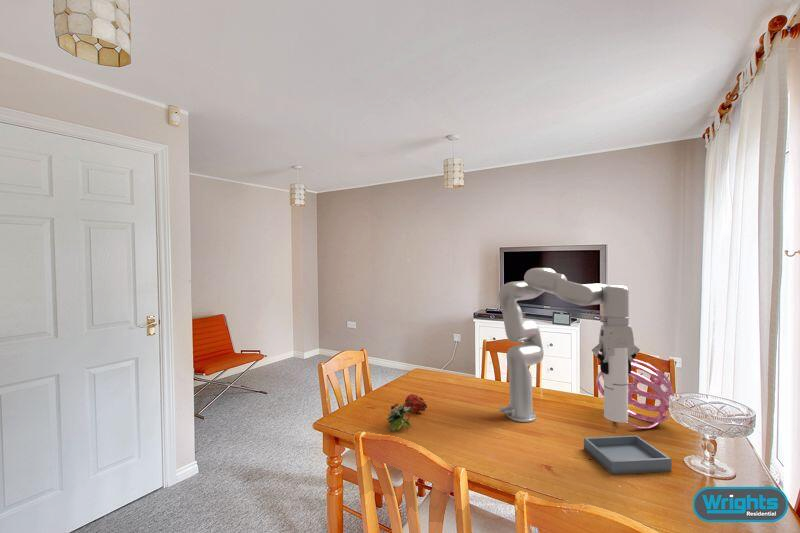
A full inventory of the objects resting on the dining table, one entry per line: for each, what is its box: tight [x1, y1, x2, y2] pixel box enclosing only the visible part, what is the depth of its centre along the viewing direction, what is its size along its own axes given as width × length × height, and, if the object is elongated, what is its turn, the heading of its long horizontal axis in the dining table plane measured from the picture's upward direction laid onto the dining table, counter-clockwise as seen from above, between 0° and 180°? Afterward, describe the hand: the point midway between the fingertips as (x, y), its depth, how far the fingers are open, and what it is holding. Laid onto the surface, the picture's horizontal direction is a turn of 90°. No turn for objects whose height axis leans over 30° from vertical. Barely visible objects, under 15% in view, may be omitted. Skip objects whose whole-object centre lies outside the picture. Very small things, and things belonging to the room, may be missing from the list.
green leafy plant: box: [386, 403, 413, 433], centre depth 152 cm, size 11×11×12 cm
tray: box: [583, 434, 673, 475], centre depth 124 cm, size 20×16×4 cm
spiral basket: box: [596, 358, 675, 430], centre depth 152 cm, size 28×28×27 cm
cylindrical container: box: [603, 348, 629, 423], centre depth 124 cm, size 7×7×25 cm
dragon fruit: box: [403, 393, 428, 415], centre depth 168 cm, size 8×8×12 cm
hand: (615, 372), depth 124 cm, fingers closed on cylindrical container, 7 cm apart
